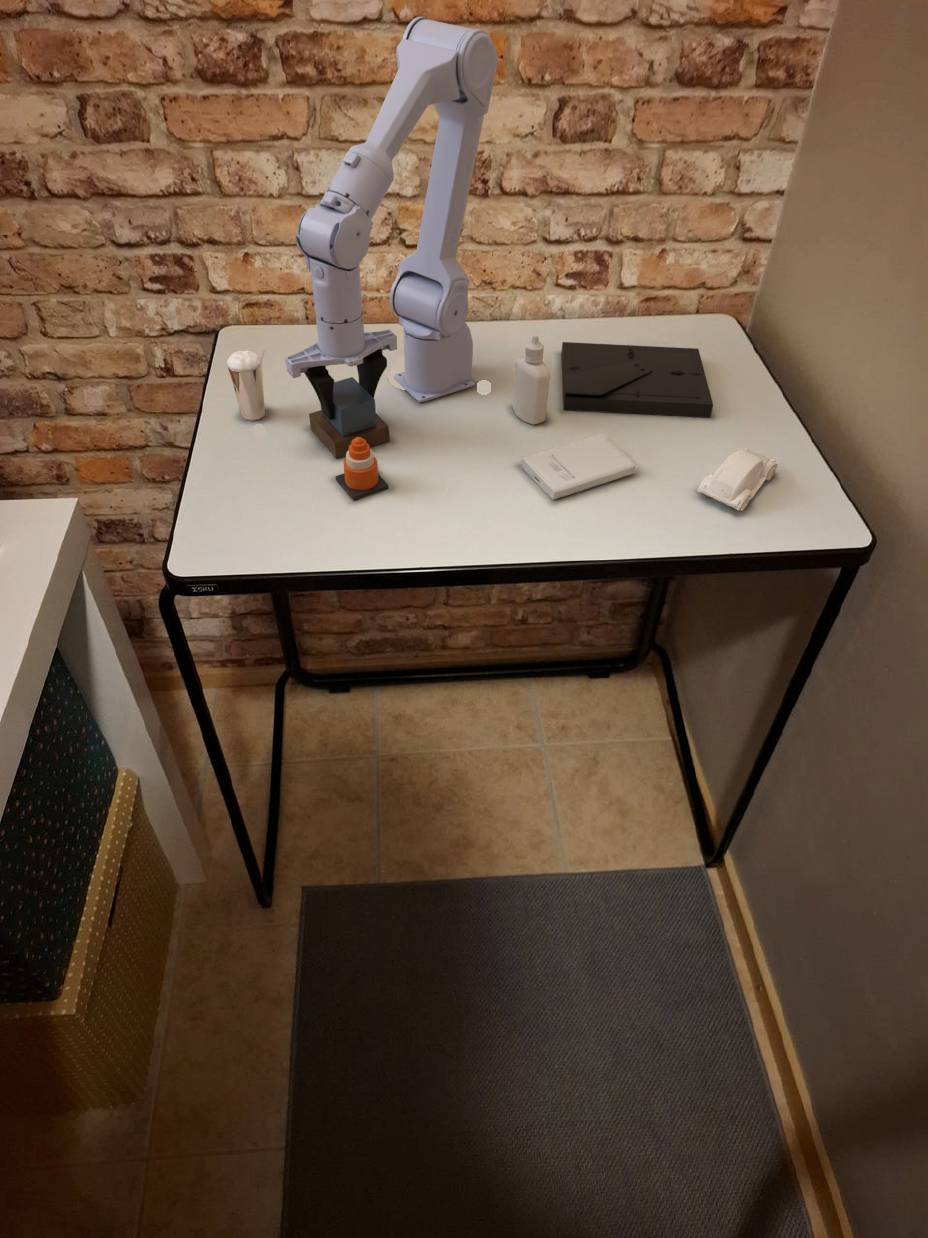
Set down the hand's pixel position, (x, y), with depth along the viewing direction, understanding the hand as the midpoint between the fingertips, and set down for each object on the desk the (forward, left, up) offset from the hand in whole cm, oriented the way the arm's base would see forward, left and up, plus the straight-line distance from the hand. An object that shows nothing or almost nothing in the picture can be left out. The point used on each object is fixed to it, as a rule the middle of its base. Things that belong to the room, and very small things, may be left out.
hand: (347, 410), depth 113 cm
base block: (0, 0, -4) cm, 4 cm away
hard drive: (-22, +22, -4) cm, 31 cm away
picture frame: (-42, +9, -4) cm, 43 cm away
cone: (+3, +10, -4) cm, 12 cm away
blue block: (0, 0, -1) cm, 1 cm away
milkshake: (+9, -11, -4) cm, 15 cm away
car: (-38, +35, -4) cm, 52 cm away
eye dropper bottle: (-24, +8, -4) cm, 26 cm away
